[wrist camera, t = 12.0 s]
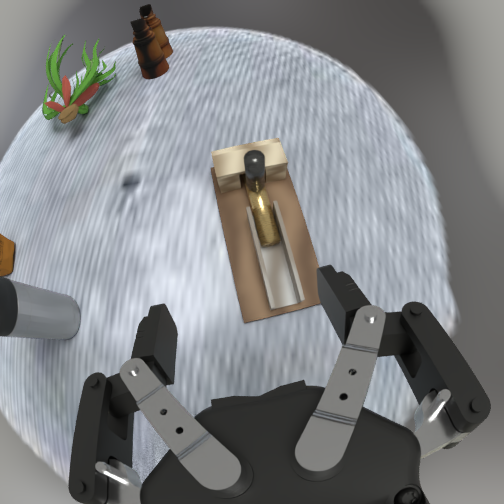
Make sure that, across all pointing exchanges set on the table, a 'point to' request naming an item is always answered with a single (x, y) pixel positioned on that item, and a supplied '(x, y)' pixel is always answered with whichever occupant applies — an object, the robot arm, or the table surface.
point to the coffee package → (6, 255)
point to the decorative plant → (80, 94)
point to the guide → (247, 240)
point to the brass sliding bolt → (260, 198)
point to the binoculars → (151, 44)
